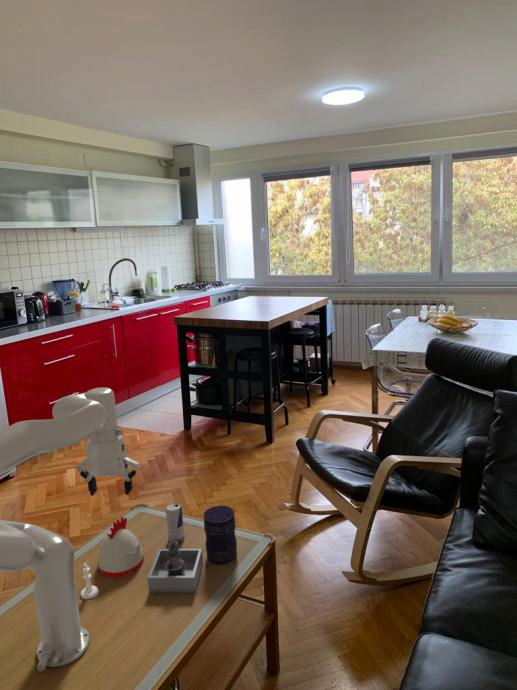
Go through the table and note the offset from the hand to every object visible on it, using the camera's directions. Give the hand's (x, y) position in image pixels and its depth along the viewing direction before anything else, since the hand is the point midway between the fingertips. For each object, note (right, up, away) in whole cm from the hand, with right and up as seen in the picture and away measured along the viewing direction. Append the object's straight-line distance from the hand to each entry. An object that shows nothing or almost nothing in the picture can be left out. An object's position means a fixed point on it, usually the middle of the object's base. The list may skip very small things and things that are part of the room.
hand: (111, 492), depth 142 cm
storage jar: (+29, -27, +25) cm, 47 cm away
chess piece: (-9, -33, +10) cm, 35 cm away
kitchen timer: (-3, -29, +24) cm, 38 cm away
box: (+16, -30, +15) cm, 37 cm away
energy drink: (+12, -26, +35) cm, 45 cm away
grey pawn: (+15, -29, +15) cm, 36 cm away
